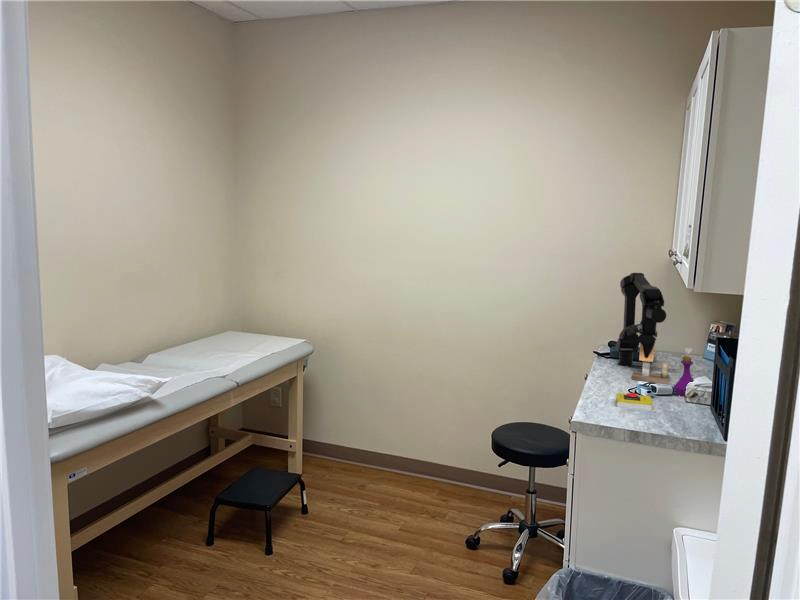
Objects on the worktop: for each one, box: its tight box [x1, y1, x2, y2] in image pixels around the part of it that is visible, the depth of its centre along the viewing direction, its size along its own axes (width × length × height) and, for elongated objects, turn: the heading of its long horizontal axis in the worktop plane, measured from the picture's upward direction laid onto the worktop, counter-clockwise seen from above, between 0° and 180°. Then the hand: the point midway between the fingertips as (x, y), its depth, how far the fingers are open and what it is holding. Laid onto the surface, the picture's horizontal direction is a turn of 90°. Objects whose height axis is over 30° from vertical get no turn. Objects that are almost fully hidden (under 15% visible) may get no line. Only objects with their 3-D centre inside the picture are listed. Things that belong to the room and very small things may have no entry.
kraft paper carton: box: [638, 343, 656, 363], centre depth 235 cm, size 5×5×8 cm
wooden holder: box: [630, 361, 671, 385], centre depth 235 cm, size 10×14×8 cm
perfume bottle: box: [672, 347, 695, 397], centre depth 211 cm, size 8×8×18 cm
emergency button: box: [611, 392, 660, 413], centre depth 199 cm, size 9×4×15 cm
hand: (646, 356), depth 236 cm, fingers closed on kraft paper carton, 5 cm apart
